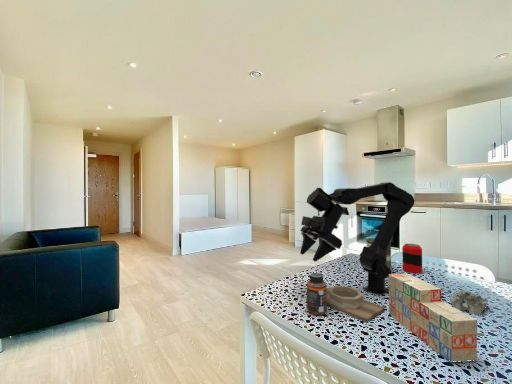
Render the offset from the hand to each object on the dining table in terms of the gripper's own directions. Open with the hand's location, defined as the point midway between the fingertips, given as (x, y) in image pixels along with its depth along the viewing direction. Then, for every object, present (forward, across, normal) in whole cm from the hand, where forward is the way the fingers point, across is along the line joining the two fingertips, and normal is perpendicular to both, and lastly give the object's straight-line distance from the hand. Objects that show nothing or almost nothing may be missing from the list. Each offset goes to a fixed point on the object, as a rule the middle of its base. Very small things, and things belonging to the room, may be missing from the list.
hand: (307, 257), depth 83 cm
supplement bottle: (+13, +8, +8) cm, 17 cm away
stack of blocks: (+1, +27, +25) cm, 36 cm away
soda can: (-22, -13, +57) cm, 63 cm away
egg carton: (-14, +19, +47) cm, 52 cm away
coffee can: (-14, -18, +46) cm, 51 cm away
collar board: (+6, +7, +17) cm, 19 cm away
